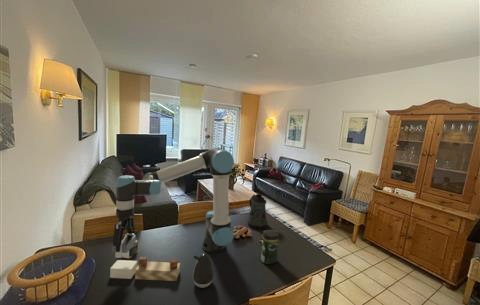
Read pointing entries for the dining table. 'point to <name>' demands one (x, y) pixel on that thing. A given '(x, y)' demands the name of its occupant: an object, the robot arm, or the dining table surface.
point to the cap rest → (123, 269)
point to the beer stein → (257, 212)
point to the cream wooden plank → (157, 270)
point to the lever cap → (126, 243)
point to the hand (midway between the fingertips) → (124, 251)
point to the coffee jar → (269, 246)
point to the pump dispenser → (203, 271)
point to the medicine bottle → (131, 250)
